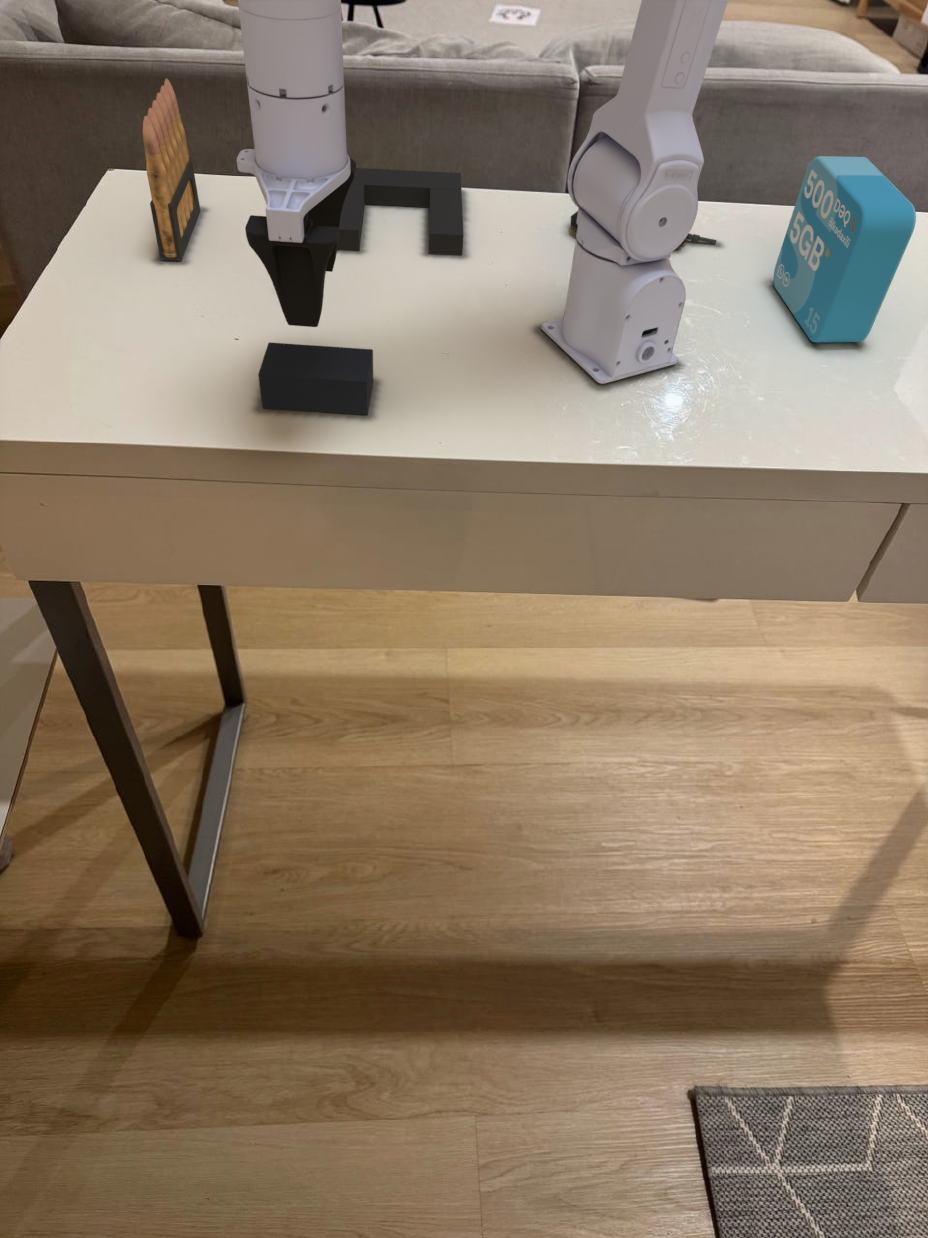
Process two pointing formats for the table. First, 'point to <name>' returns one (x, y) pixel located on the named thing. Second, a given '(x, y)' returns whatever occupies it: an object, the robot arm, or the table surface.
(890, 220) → the data package
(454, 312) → the table surface
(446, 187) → the black flat u-shaped piece
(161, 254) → the ammunition clip
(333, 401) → the black rectangular block
